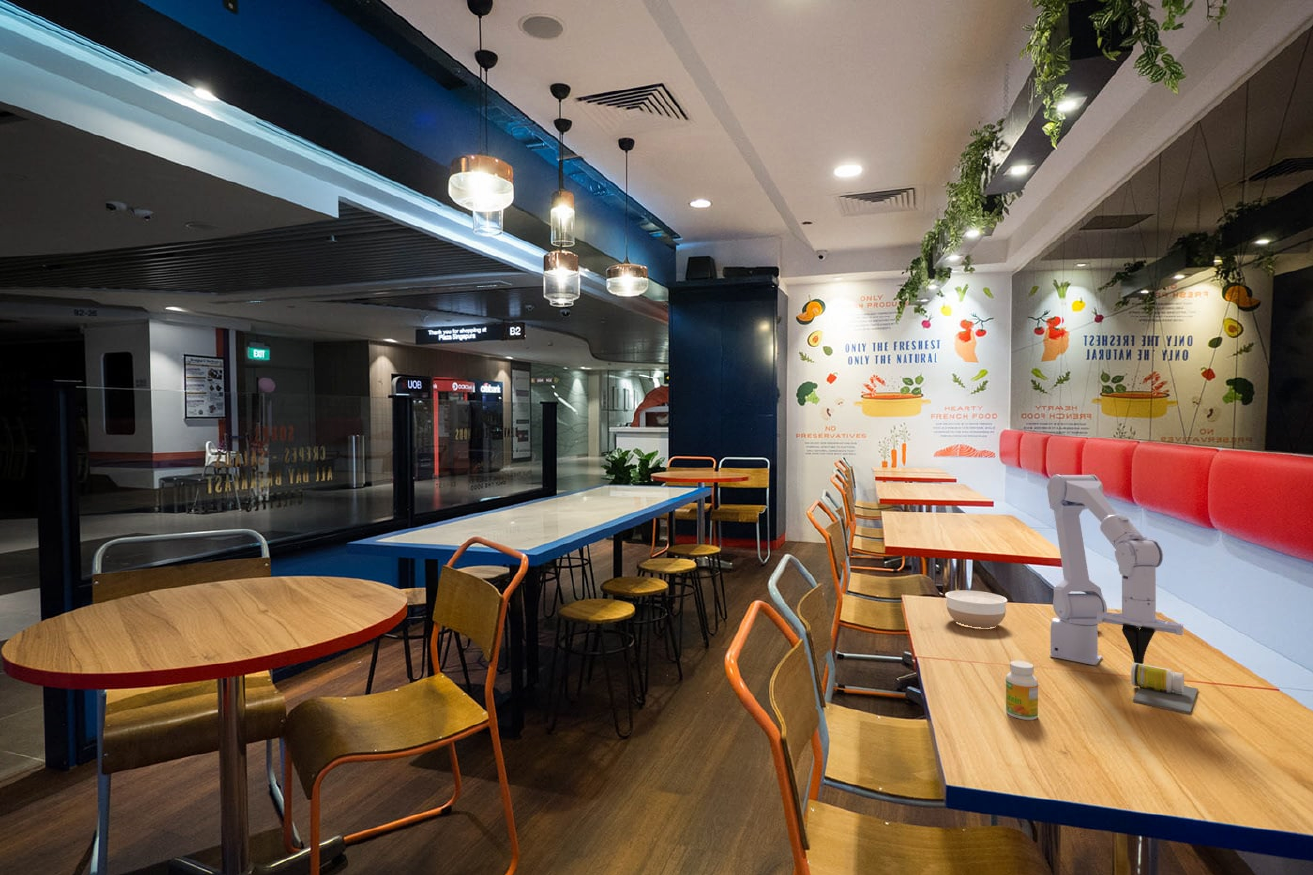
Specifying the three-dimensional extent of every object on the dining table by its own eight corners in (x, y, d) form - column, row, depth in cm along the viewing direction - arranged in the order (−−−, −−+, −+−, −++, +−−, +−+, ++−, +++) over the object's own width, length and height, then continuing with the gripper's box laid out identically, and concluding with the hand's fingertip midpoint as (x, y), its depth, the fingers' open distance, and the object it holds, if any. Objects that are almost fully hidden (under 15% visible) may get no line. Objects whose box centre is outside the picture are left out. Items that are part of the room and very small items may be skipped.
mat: (1132, 701, 132) (1132, 699, 132) (1144, 680, 144) (1144, 677, 144) (1190, 714, 126) (1190, 711, 126) (1197, 690, 138) (1197, 688, 138)
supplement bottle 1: (999, 711, 128) (999, 661, 128) (1019, 707, 130) (1018, 657, 130) (1024, 722, 123) (1024, 670, 123) (1044, 717, 125) (1044, 666, 125)
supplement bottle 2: (1130, 687, 138) (1181, 698, 132) (1130, 664, 139) (1181, 674, 133) (1134, 682, 142) (1184, 692, 136) (1134, 660, 142) (1184, 669, 136)
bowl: (953, 631, 181) (953, 602, 181) (938, 615, 197) (938, 589, 197) (1016, 633, 179) (1016, 604, 179) (996, 618, 194) (996, 591, 194)
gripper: (1093, 595, 140) (1094, 659, 140) (1180, 607, 130) (1180, 675, 130) (1100, 589, 146) (1100, 651, 146) (1184, 600, 136) (1184, 666, 136)
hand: (1138, 662), depth 138 cm, fingers closed
